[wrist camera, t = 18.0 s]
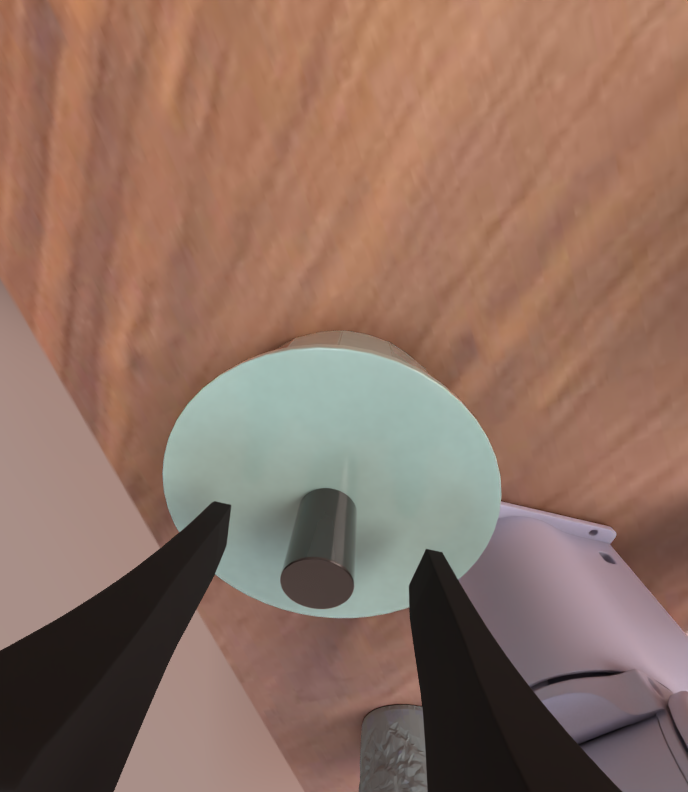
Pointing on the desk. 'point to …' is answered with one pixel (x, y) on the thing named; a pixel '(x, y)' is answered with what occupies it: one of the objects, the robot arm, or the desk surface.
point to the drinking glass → (393, 750)
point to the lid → (333, 477)
